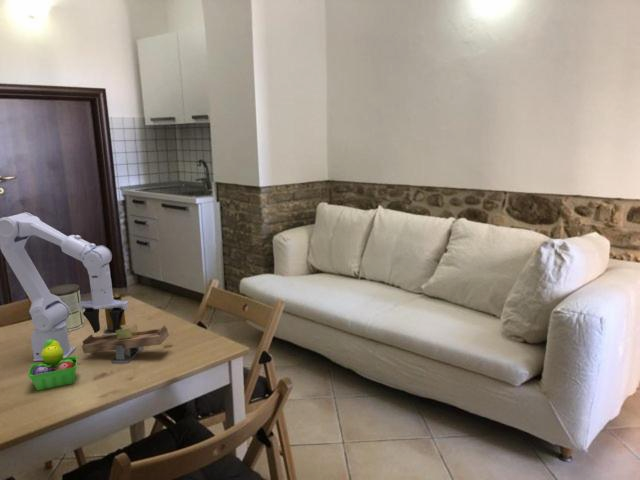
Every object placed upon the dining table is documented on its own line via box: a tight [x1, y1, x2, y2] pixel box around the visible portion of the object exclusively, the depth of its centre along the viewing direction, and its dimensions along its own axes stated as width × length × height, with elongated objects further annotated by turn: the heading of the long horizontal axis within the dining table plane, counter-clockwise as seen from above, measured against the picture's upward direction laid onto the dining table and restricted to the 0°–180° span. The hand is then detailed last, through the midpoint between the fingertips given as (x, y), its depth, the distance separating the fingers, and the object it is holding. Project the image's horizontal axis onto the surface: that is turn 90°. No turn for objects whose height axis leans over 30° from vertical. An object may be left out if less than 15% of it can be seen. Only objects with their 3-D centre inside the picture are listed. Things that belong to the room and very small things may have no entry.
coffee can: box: [48, 283, 85, 332], centre depth 174 cm, size 10×10×14 cm
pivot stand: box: [111, 344, 145, 364], centre depth 150 cm, size 5×10×5 cm, turn 175°
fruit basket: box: [27, 339, 78, 391], centre depth 135 cm, size 11×9×11 cm
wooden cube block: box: [116, 322, 139, 340], centre depth 149 cm, size 4×4×4 cm
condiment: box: [101, 293, 128, 336], centre depth 170 cm, size 7×8×12 cm
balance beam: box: [81, 325, 170, 354], centre depth 150 cm, size 24×7×4 cm, turn 85°
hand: (107, 331), depth 150 cm, fingers open, 6 cm apart
